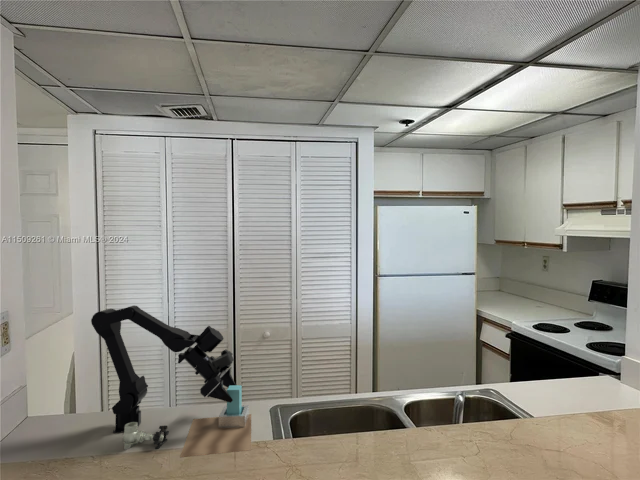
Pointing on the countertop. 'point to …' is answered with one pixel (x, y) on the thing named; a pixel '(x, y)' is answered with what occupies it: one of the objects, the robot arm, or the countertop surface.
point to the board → (216, 438)
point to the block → (235, 400)
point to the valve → (142, 435)
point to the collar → (233, 418)
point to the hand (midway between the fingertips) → (234, 395)
